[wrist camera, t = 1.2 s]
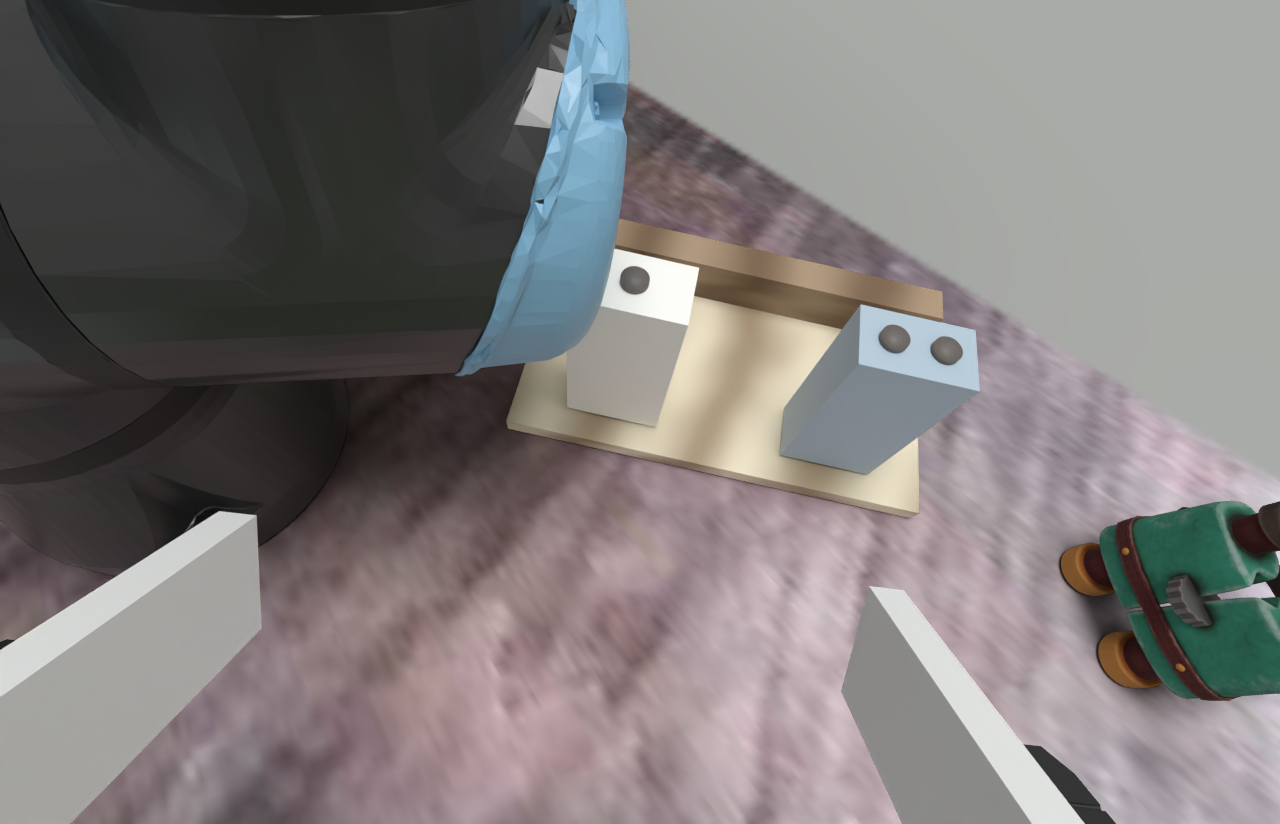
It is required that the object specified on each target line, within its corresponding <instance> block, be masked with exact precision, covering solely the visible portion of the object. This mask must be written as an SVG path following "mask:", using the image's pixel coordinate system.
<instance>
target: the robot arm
mask: <svg viewBox="0 0 1280 824" xmlns="http://www.w3.org/2000/svg"><path fill="white" fill-rule="evenodd" d="M629 53H630V51H629V30H628V20H627V12H626V5H625V0H0V520H1V521H2V522H3V523H4V524H5V525H6V526H7V527H8V528H9V529H10V530H11V531H12V532H13V533H15V534H16V535H17V536H18V537H19V538H20V539H21V540H23V541H24V542H25V543H27V544H28V545H30V546H31V547H33V548H35V549H36V550H38V551H40V552H42V553H43V554H45V555H47V556H50V557H52V558H54V559H56V560H58V561H61V562H64V563H67V564H70V565H74V566H77V567H81V568H85V569H89V570H92V571H96V572H100V573H104V574H107V575H112V576H116V577H115V578H113V579H111V580H110V581H108V582H107V583H105V584H104V585H102V586H100V587H99V588H97V589H96V590H94V591H93V592H91V593H89V594H88V595H86V596H85V597H83V598H81V599H80V600H78V601H77V602H75V603H74V604H72V605H70V606H69V607H67V608H66V609H64V610H63V611H61V612H59V613H58V614H56V615H55V616H53V617H52V618H50V619H48V620H47V621H45V622H44V623H42V624H41V625H39V626H37V627H36V628H34V629H33V630H31V631H29V632H28V633H26V634H25V635H23V636H22V637H20V638H18V639H17V640H8V639H7V640H4V641H2V642H0V824H71V823H72V821H73V820H74V819H75V818H76V817H77V816H78V815H79V814H80V813H81V812H82V811H83V810H84V809H85V808H86V807H87V806H88V805H89V804H90V803H91V802H92V801H93V800H94V799H95V798H96V797H97V796H98V795H99V794H100V793H101V792H102V791H103V790H104V789H105V788H106V787H107V786H108V785H109V784H110V783H111V782H112V781H113V780H114V779H115V778H116V777H117V776H118V775H119V774H120V773H121V772H122V771H123V769H124V768H125V767H126V766H127V765H128V764H129V763H130V762H131V761H132V760H133V759H134V758H135V757H136V756H137V755H138V754H139V753H140V752H141V751H142V750H143V749H144V748H145V747H146V746H147V745H148V744H149V743H150V742H151V741H152V740H153V739H154V738H155V737H156V736H157V735H158V734H159V733H160V732H161V731H162V730H163V729H164V728H165V727H166V726H167V725H168V724H169V723H170V722H171V721H172V720H173V719H174V717H175V716H176V715H177V714H178V713H179V712H180V711H181V710H182V709H183V708H184V707H185V706H186V705H187V704H188V703H189V702H190V701H191V700H192V699H193V698H194V697H195V696H196V695H197V694H198V693H199V692H200V691H201V690H202V689H203V688H204V687H205V686H206V685H207V684H208V683H209V682H210V681H211V680H212V679H213V678H214V677H215V676H216V675H217V674H218V673H219V672H220V671H221V670H222V669H223V668H224V667H225V665H226V664H227V663H228V662H229V661H230V660H231V659H232V658H233V657H234V656H235V655H236V654H237V653H238V652H239V651H240V650H241V649H242V648H243V647H244V646H245V645H246V644H247V643H248V642H249V641H250V640H251V639H252V638H253V637H254V636H255V635H256V634H257V633H258V632H259V631H260V630H261V629H262V624H261V602H260V580H259V558H258V546H259V545H260V544H262V543H264V542H265V541H267V540H268V539H270V538H271V537H272V536H274V535H275V534H277V533H278V532H279V531H280V530H282V529H283V528H284V527H286V526H287V525H288V524H289V523H290V522H291V521H292V520H294V519H295V518H296V517H297V516H298V515H299V514H300V513H301V512H302V511H303V510H304V509H305V508H306V507H307V505H308V504H309V503H310V502H311V501H312V500H313V498H314V497H315V496H316V495H317V493H318V492H319V491H320V489H321V488H322V486H323V485H324V484H325V482H326V480H327V479H328V477H329V475H330V474H331V472H332V470H333V468H334V466H335V464H336V462H337V460H338V457H339V455H340V452H341V450H342V446H343V443H344V440H345V436H346V431H347V424H348V398H347V392H346V387H345V384H344V380H343V378H361V377H380V376H400V375H420V374H440V373H454V375H455V376H464V375H465V374H470V375H471V374H473V373H475V372H476V371H478V370H479V369H480V368H485V367H493V366H502V365H511V364H520V363H530V362H539V361H546V360H551V359H553V358H555V357H557V356H560V355H562V354H565V352H566V351H568V350H570V349H572V348H573V347H575V346H576V345H577V344H578V343H579V342H580V341H581V340H582V339H583V338H584V337H585V335H586V334H587V333H588V331H589V330H590V328H591V326H592V324H593V322H594V320H595V318H596V316H597V313H598V311H599V308H600V305H601V303H602V299H603V296H604V292H605V289H606V285H607V281H608V277H609V273H610V269H611V264H612V259H613V253H614V248H615V242H616V237H617V230H618V223H619V216H620V209H621V201H622V193H623V184H624V174H625V161H626V147H627V137H626V133H625V130H624V126H623V122H622V118H623V116H624V114H625V109H626V100H627V90H628V81H629V69H630V55H629ZM841 692H842V694H843V696H844V698H845V700H846V703H847V705H848V707H849V709H850V711H851V713H852V716H853V718H854V720H855V722H856V724H857V726H858V729H859V731H860V733H861V735H862V737H863V739H864V742H865V744H866V746H867V748H868V750H869V752H870V755H871V757H872V759H873V761H874V763H875V766H876V768H877V770H878V772H879V774H880V776H881V779H882V781H883V783H884V785H885V787H886V789H887V792H888V794H889V796H890V798H891V800H892V802H893V805H894V807H895V809H896V811H897V813H898V816H899V818H900V820H901V822H902V824H1116V823H1115V822H1114V821H1113V820H1112V818H1111V817H1110V816H1109V815H1108V814H1107V812H1106V811H1102V810H1101V808H1100V804H1099V803H1098V802H1097V800H1096V799H1095V798H1094V797H1093V796H1092V794H1091V793H1090V792H1089V791H1088V790H1087V788H1086V787H1085V786H1084V785H1083V784H1082V782H1081V781H1080V780H1079V779H1078V777H1077V776H1076V775H1075V774H1074V773H1073V772H1072V771H1070V770H1069V769H1068V768H1067V767H1065V766H1064V765H1063V764H1062V763H1061V762H1059V761H1058V760H1057V759H1056V758H1054V757H1053V756H1052V755H1051V754H1050V753H1048V752H1047V751H1046V750H1045V749H1043V748H1042V747H1041V746H1033V745H1023V744H1022V742H1021V741H1020V740H1019V738H1018V737H1017V736H1016V735H1015V733H1014V732H1013V731H1012V729H1011V728H1010V727H1009V726H1008V724H1007V723H1006V722H1005V720H1004V719H1003V718H1002V717H1001V715H1000V714H999V713H998V711H997V710H996V709H995V707H994V706H993V705H992V704H991V702H990V701H989V700H988V698H987V697H986V696H985V695H984V693H983V692H982V691H981V689H980V688H979V687H978V686H977V684H976V683H975V682H974V680H973V679H972V678H971V677H970V675H969V674H968V673H967V671H966V670H965V669H964V668H963V666H962V665H961V664H960V662H959V661H958V660H957V659H956V657H955V656H954V655H953V653H952V652H951V651H950V649H949V648H948V647H947V646H946V644H945V643H944V642H943V640H942V639H941V638H940V637H939V635H938V634H937V633H936V631H935V630H934V629H933V628H932V626H931V625H930V624H929V622H928V621H927V620H926V619H925V617H924V616H923V615H922V613H921V612H920V611H919V610H918V608H917V607H916V606H915V604H914V603H913V602H912V601H911V599H910V598H909V597H908V595H907V594H906V593H905V592H904V590H898V589H889V588H881V587H872V586H869V589H868V593H867V596H866V600H865V604H864V608H863V611H862V615H861V619H860V623H859V627H858V630H857V634H856V638H855V642H854V645H853V649H852V653H851V657H850V660H849V664H848V668H847V672H846V675H845V679H844V683H843V687H842V690H841Z"/></svg>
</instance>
